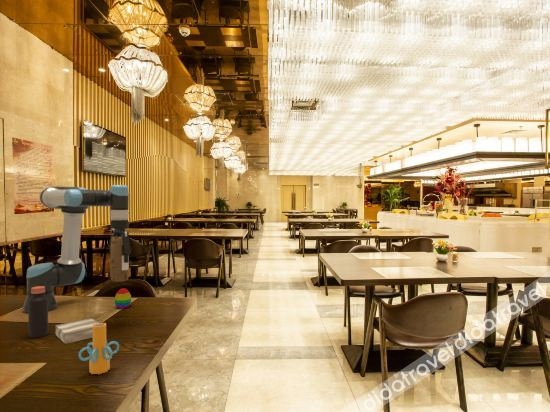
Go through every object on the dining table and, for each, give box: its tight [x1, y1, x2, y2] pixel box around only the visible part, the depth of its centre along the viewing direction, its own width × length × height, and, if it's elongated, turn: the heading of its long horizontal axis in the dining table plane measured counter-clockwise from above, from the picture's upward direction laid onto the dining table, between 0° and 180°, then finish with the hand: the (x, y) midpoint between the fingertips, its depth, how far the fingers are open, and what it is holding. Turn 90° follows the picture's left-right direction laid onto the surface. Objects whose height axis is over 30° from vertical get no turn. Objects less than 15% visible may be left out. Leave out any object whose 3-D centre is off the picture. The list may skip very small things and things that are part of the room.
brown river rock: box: [109, 236, 129, 283], centre depth 165 cm, size 11×8×20 cm
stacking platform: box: [55, 317, 99, 345], centre depth 153 cm, size 14×14×4 cm
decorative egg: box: [114, 287, 132, 310], centre depth 195 cm, size 8×8×10 cm
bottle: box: [28, 286, 49, 339], centre depth 153 cm, size 7×7×20 cm
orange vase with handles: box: [77, 322, 120, 375], centre depth 120 cm, size 12×10×15 cm
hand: (119, 268), depth 165 cm, fingers closed on brown river rock, 11 cm apart
